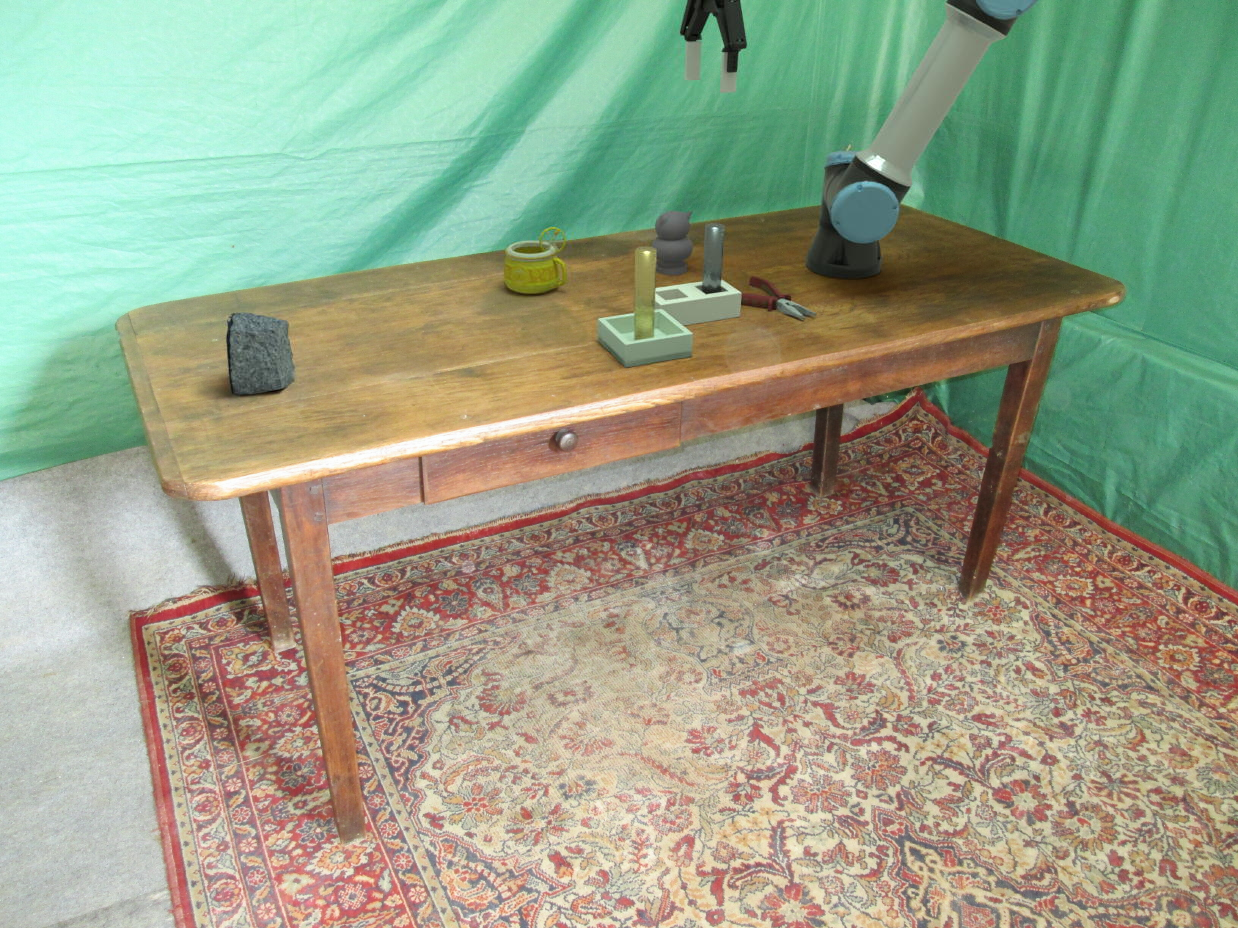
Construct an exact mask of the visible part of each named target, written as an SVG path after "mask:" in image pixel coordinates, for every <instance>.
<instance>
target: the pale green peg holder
mask: <svg viewBox="0 0 1238 928" xmlns="http://www.w3.org/2000/svg"><path fill="white" fill-rule="evenodd" d="M742 293H743V292H742ZM742 293H741V291H739V290H738V289H737V288H735V287H734V286H732V285H731V284H729V283H728V282H726V281H725V280H723V278H722V279H721V292H719V293H712V294H705V293H703V292H702V281H698V282H697V281H696V282H688V283H682V284H676V285H668V286H662V287H656V291H655V310H657V309H663V310H664V311H665V312H666V313H668V314H669V315H670V316H671V317H673V318H674V319H675V320H676V321H678V322H679V323H680V324H681V325H683V326H684V327H685V326H688V325H695V324H696V325H697V324H703V323H708V322H714V321H720V320H726V319H733V318H738V317H741V308H742V307H741V306H742V305H741V296H742Z"/></svg>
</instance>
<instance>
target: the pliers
mask: <svg viewBox="0 0 1238 928" xmlns="http://www.w3.org/2000/svg"><path fill="white" fill-rule="evenodd" d="M748 282H749V283H748V284H749V286H752V287H754V288H757V289H759V290H762V291H764V292H766V294H768V295H762V294H761V295H760V294H757V293H756V294H755V293H747V292H741V291H740V292H741V293H742V296H741V306H746V307H747V306H748V307H753V308H760V309H767V312H770V313H771V312H772V311H776V310H777V311H779V312H780V313H783V314H785V315H788V316H791V317H794V318H798V319H802V320H804V321H805V320H806V317H805V315H806V316H815V317H816V316H817V313H815V312H814V311H812V310H810V309H808V308H806V307H805V306H803V305H801V304H799V303H797V302H794V301H792V296H791V295H790V293H782V292H780V291H779V290H778V288H777V287H776V286H775V284H773V283H772V282H771V281H769V280H767V279H764V278H762V277H758V276H751V277H750V278H749V281H748Z"/></svg>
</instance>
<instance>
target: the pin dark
mask: <svg viewBox="0 0 1238 928" xmlns="http://www.w3.org/2000/svg"><path fill="white" fill-rule="evenodd" d="M725 228H726V226H725V224H722V223H718V222H710V223H706V224H705V227H704V240H703V241H704V242H703V247H704V248H703V260H702V261H703V263H702V281H701V282H702V292H703V293H705V294H712V293H719V292H721V279H722V280H723V278H722V277H723V261H724V259H723V258H724V246H725V245H724V244H725Z"/></svg>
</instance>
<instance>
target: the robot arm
mask: <svg viewBox="0 0 1238 928" xmlns="http://www.w3.org/2000/svg"><path fill="white" fill-rule="evenodd" d="M1038 1H1039V0H946V1H945V3H944V8H945V13H946V19H945V21H944V23H943V24H942V26H941V28H940V30H939V31H938V32H937V35H936V36H935V38H934V39H933V40H932V43H930V44H931V45H930V46H929V48H928V49H927V51H926V53H925V54H924V56H923V57H922V59H921V61H920V63H919V64H918V66H917V67H916V70H915V71H914V73H913V74H912V76H911V78H910V79H909V80H908V83H907V84H906V86H905V88H904V89H903V91H902V93H901V94H900V95H899V96H900V97H898V100H897V101H896V103H895V104H894V106H893V108H892V109H891V111H890V113H889V115H888V116H887V118H886V120H885V121H884V123H883V124H882V126H881V128H880V130H879V131H878V133H877V135H876V137H874V140H873V141H872V142H871V145H870V146H869V147H868V148H867V149H864V150H860V151H859V150H841V151H840V150H838V151H832V152H830V153H829V154H827V157H826V159H825V164H824V166H823V170H824V176H823V183H822V184H823V185H822V193H821V201H820V202H821V204H820V210H819V218H818V219H819V221H818V228H817V230H816V233H815V234H814V237H813V239H812V242H811V245H810V248H809V249H808V251H807V253H806V259H805V265H806V267H807V269H809V270H810V271H811V272H814V273H816V274H819V275H821V276H826V277H829V278H837V279H849V280H850V279H865V278H870V277H873V276H876V275H878V274H879V273H880V272H881V270H882V266H883V265H882V263H883V257H882V251H881V246H880V240H881V239H882V238H884V237H886V236H887V235H888V234H889V233H890V232H891V231H892V230H893V228H894V227H895V225H896V223H897V220H898V218H899V213H900V205H901V204H902V202H903V200H904V198H905V197H906V196H907V194H908V192H909V191H910V189H911V187H912V186H913V179H912V175H911V172H912V170H913V169H914V166H915V165H916V163H917V162H918V160H919V159H920V158H921V156H922V154H923V152H924V151H925V149H926V148H927V147H928V145H929V144H930V141H931V140H932V138H933V137H934V135H935V133H936V132H937V130H938V129H939V127H940V126H941V124H942V122H943V120H944V119H945V117H947V114H948V113H949V112H950V110H951V108H952V106H953V105H954V103H955V102H956V100H957V99H958V97H959V95H960V94H961V92H962V90H963V89H964V88H965V86H966V84H967V82H968V81H969V79H970V77H972V75H973V73H974V71H975V70H976V68H977V67H978V65H979V63H980V62H981V60H982V59H983V57H984V55H986V53H987V50H988V49H989V48H990V46H991V45H992V44H993V43H995V42H998V41H1001V40H1004V39H1006V37H1007V36H1008V34H1009V33H1010V32H1011V30H1012V29H1013V27H1014V25H1015V24H1016V22H1017V20H1018V19H1019V18H1020V17H1021V16H1023V15H1024V14H1026V13H1027V12H1028V11H1029V10H1031V9H1032V8H1033V7H1034V6H1035V5H1036V4H1037V3H1038ZM710 14H712V16H713V17H715V18H716V22H717V23H716V24H717V26H718V29H719V32H720V36H721V40H722V43H723V48H722V50H721V65H720V66H721V67H720V83H719V84H720V87H719V93H721V94H728V93H737V83H738V82H737V80H738V68H739V67H738V66H739V53H740V52H741V50H743V49H747V47H748V43H747V42H748V41H747V36H746V35H747V34H746V29H745V22H744V17H743V15H744V14H743V10H742V3H741V0H687V2H686V5H685V8H684V13H683V17H682V22H681V26H680V29H679V34H680V36H683V38H684V41H685V62H684V63H685V65H684V67H685V68H684V81H700V80H701V64H702V63H701V60H702V59H701V58H702V40H703V38H702V32H703V30H704V29H705V27H706V24H707V21H708V19H709V17H710Z"/></svg>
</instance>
